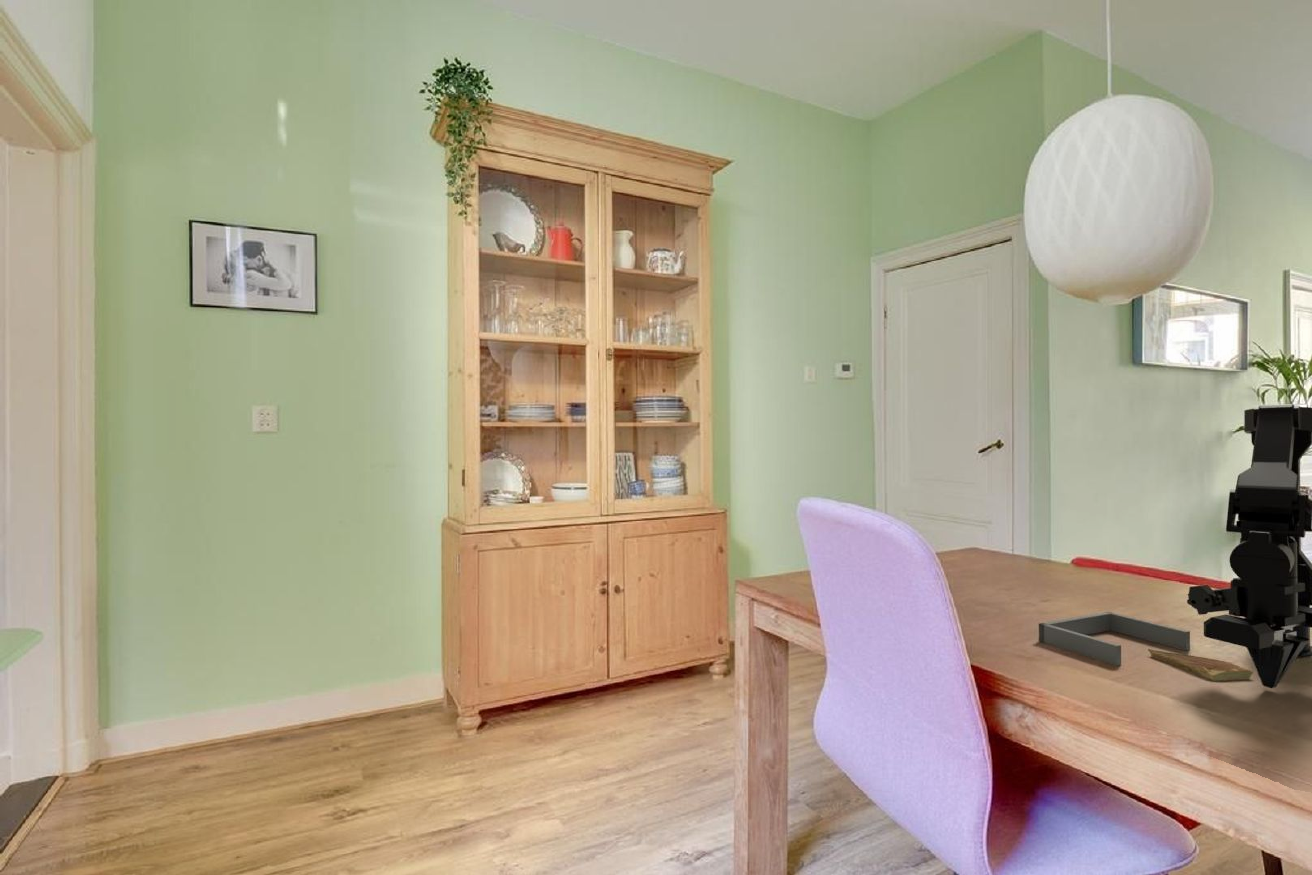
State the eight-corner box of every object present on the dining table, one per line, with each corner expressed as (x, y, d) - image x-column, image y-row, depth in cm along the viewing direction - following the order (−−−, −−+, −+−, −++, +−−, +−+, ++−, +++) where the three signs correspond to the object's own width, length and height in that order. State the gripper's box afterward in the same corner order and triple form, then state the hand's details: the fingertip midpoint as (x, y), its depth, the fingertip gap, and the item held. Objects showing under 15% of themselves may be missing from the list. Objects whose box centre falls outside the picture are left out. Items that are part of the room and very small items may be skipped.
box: (1108, 628, 118) (1108, 611, 118) (1190, 649, 106) (1189, 631, 106) (1038, 640, 111) (1038, 623, 111) (1116, 665, 99) (1116, 645, 99)
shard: (1147, 658, 103) (1147, 647, 103) (1192, 656, 104) (1192, 645, 104) (1210, 684, 93) (1210, 671, 93) (1260, 682, 93) (1260, 669, 93)
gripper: (1237, 557, 100) (1238, 658, 100) (1160, 568, 93) (1161, 677, 93) (1334, 571, 89) (1335, 684, 90) (1256, 585, 83) (1257, 707, 83)
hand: (1269, 686), depth 89 cm, fingers closed
